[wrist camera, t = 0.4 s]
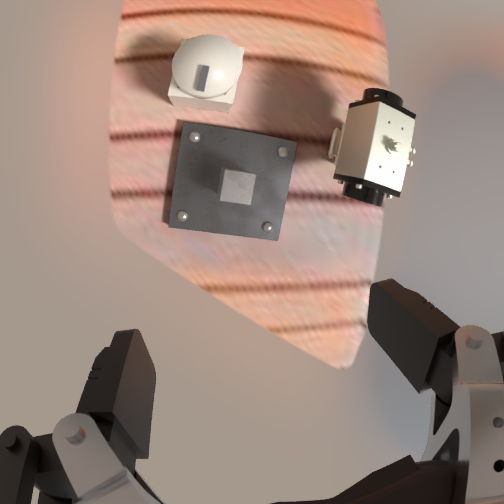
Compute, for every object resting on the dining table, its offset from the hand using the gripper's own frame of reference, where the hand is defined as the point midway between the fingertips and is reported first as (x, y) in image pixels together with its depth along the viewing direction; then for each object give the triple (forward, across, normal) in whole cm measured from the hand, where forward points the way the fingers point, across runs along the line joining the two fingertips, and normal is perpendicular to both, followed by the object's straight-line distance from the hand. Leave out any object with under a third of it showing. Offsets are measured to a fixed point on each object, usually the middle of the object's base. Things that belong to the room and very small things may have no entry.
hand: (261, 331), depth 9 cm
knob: (+26, 0, -14) cm, 29 cm away
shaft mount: (+26, -2, -2) cm, 26 cm away
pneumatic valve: (+26, -16, -4) cm, 31 cm away
